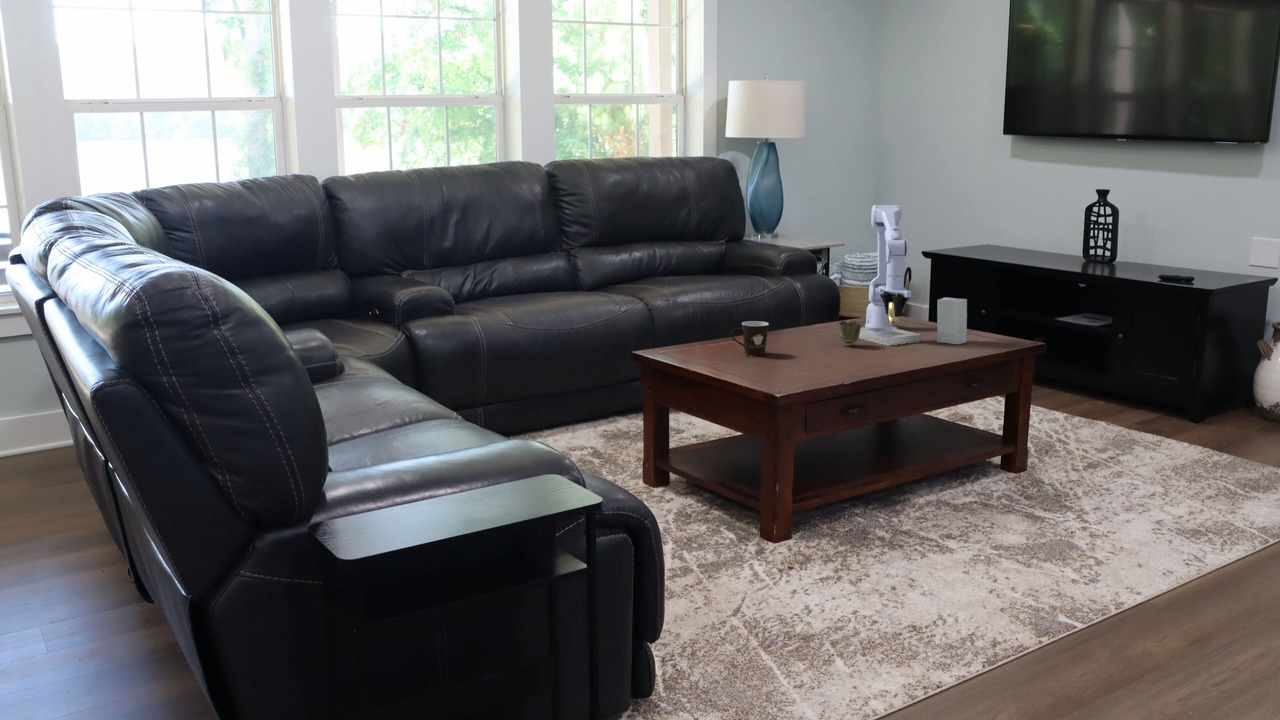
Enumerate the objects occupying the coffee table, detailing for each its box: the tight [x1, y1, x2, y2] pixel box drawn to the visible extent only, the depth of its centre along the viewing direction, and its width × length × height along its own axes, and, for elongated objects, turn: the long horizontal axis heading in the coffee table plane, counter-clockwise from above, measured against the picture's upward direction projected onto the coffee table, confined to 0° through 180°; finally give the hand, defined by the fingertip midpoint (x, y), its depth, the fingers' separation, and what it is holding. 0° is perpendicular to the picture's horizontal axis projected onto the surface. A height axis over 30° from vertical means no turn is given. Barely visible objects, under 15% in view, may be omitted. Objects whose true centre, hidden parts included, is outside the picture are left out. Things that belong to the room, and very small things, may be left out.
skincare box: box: [936, 297, 968, 345], centre depth 367 cm, size 8×6×15 cm
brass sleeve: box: [888, 301, 901, 325], centre depth 370 cm, size 4×4×7 cm
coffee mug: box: [730, 320, 769, 357], centre depth 353 cm, size 12×9×10 cm
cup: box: [838, 320, 862, 348], centre depth 364 cm, size 8×7×8 cm
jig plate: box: [858, 325, 922, 347], centre depth 375 cm, size 20×14×2 cm
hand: (893, 315), depth 370 cm, fingers closed on brass sleeve, 4 cm apart
